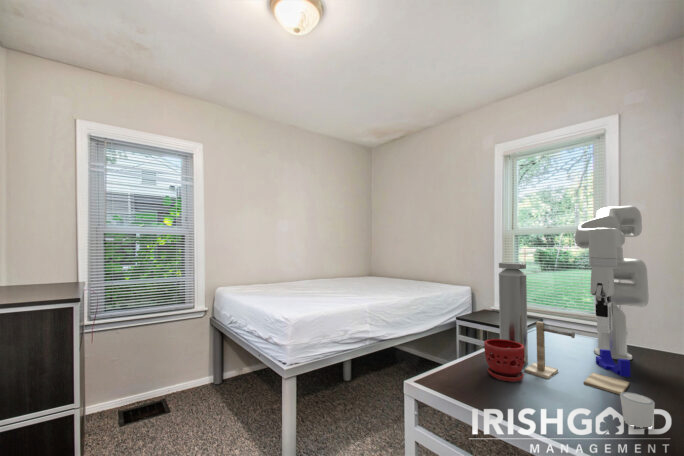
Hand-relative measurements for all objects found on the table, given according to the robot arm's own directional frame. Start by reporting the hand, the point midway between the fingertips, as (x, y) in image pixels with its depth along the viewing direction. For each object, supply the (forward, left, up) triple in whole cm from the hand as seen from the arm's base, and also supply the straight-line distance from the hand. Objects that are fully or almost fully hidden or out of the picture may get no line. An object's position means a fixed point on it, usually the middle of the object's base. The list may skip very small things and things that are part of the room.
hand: (604, 314), depth 109 cm
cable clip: (-18, -2, -24) cm, 30 cm away
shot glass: (+24, +11, -24) cm, 35 cm away
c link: (0, 0, -6) cm, 6 cm away
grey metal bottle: (+3, -29, -24) cm, 38 cm away
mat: (0, 0, -24) cm, 24 cm away
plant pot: (+21, -25, -24) cm, 40 cm away
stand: (+6, -15, -24) cm, 29 cm away
